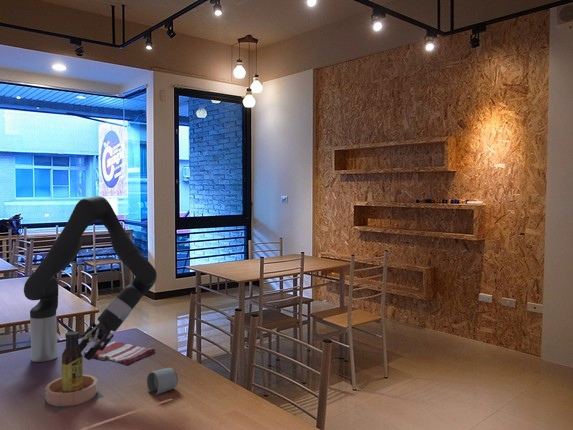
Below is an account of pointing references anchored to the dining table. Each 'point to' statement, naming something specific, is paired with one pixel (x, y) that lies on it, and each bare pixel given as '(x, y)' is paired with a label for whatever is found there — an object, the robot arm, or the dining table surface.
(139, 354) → the dish towel
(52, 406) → the mat
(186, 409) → the dining table surface
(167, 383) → the ceramic mug
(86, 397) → the bowl
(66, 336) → the sauce bottle
